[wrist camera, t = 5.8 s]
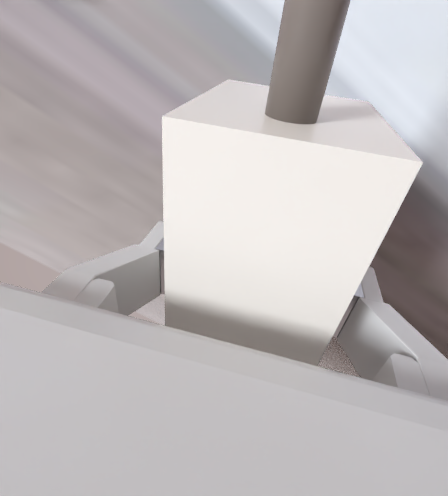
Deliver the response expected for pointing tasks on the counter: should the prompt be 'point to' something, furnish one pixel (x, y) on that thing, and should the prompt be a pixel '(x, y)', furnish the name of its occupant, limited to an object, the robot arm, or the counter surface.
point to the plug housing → (278, 197)
